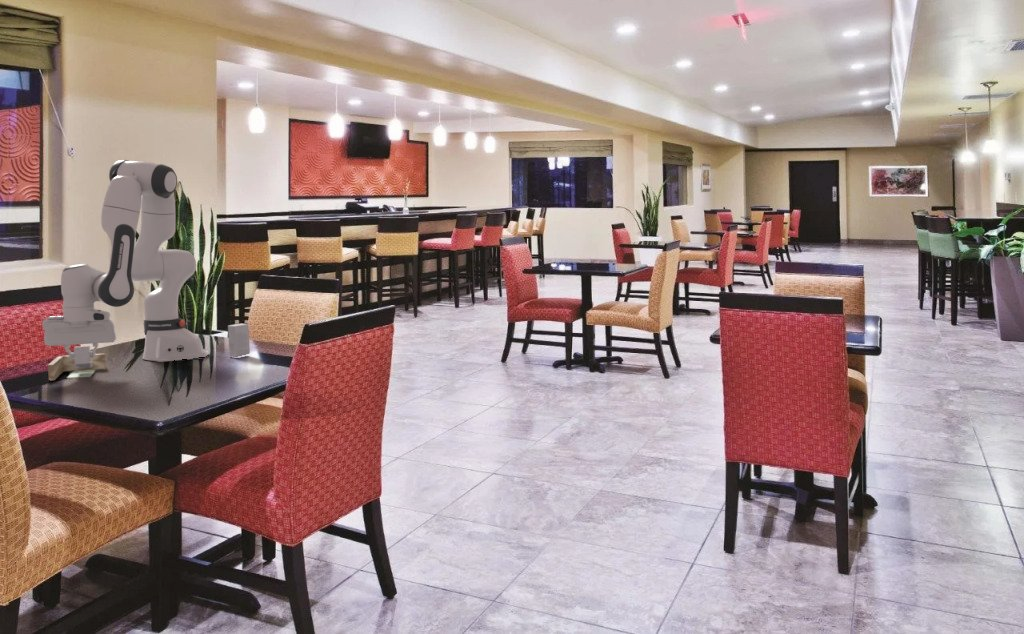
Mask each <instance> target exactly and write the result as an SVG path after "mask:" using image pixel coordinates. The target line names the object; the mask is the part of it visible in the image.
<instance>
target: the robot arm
mask: <svg viewBox="0 0 1024 634" xmlns="http://www.w3.org/2000/svg"><path fill="white" fill-rule="evenodd" d="M108 178H109V183H108V184H109V185H107V186H108V187H107V190H106V191H105V194H104V198H103V201H102V202H103V203H102V207H101V216H100V218H101V219H100V220H101V221H100V223H101V228H102V230H103V231H104V232H105V233H106V235H107V236H108V238H109V241H110V244H111V250H110V251H111V253H110V260H109V267H108V271H107V272H106V271H101V270H99V269H96V268H94V267H93V266H90V265H89V264H87V263H79V264H72V265H69V266H66V267H64V268H63V269H62V272H61V276H60V277H61V278H60V289H61V291H60V292H61V296H62V299H63V303H62V315H57V316H56V315H55V316H48V317H45V318H44V319H43V320H42V329H43V330H44V337H43V338H44V340H43V341H44V342H43V343H44V345H46V346H47V347H53V346H55V347H56V346H63V347H64V348H63V349H64V350H65V351H66V353H67V354H68V355H69V359H74V352H72V351H71V350H70V347H71V346H73V345H90V344H91V345H92V347H93V350H90V352H89V354H90V358H91V357H95V354H96V351H97V349H98V347H99V344H108V343H109V344H110V343H114V342H115V341H116V340H117V333H116V328H115V325H114V322H113V320H111V319H110V318H111V312H109V311H106V310H102V309H98V308H95V303H96V302H101V303H104V304H106V305H108V306H111V307H113V308H115V307H116V308H119V307H123V306H125V305H127V304H128V303H129V302H130V301H131V300H132V298H133V297H134V294H135V287H134V282H155V281H158V282H159V284H158V287H157V288H156V289H154V290H152V291H151V292H149V293H148V294H146V295H145V296H144V300H143V305H144V306H143V309H144V320H143V333H144V335H145V338H144V339H145V340H144V349H143V355H142V360H146V361H153V362H161V363H164V362H173V361H174V360H175V361H183V360H182V359H187V360H194V359H193V358H198V357H204V356H207V355H208V354H209V355H210V352H209V349H208V350H207V349H205V348H204V346H203V342H202V340H201V338H200V337H199V336H197V335H196V334H194V333H193V332H192V331H190V330H189V329H187V328H185V327H186V321H185V319H184V318H183V319H182V318H181V317H179V295H180V293H181V290H182V287H183V286H184V284H185V283H186V281H188V280H189V279H191V277H192V276H193V275H194V274H195V272H196V270H197V261H196V257H195V256H194V255H193V254H192V253H191V251H189V250H183V249H173V248H172V249H160V246H161V245H162V244H163V243H164V242H167V241H168V240H170V239H171V238H172V237H174V235H175V233H176V199H175V191H176V188H177V186H178V176H177V174H176V172H175V170H174V169H173V168H172V167H170V166H168V165H166V164H161V163H160V164H159V163H155V162H151V161H143V160H142V161H140V160H139V161H137V160H129V159H128V160H127V159H124V160H123V159H122V160H117V161H115V162H114V163H113V164H112V165H111V167H110V169H109V174H108ZM140 213H141V214H140ZM140 217H141V218H140ZM139 219H140V220H141V221H140V230H139V235H138V238H137V240H136V235H137V229H138V225H139ZM135 241H136V242H135ZM207 357H208V356H207ZM198 359H199V358H198ZM175 361H174V362H175Z"/></svg>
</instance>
